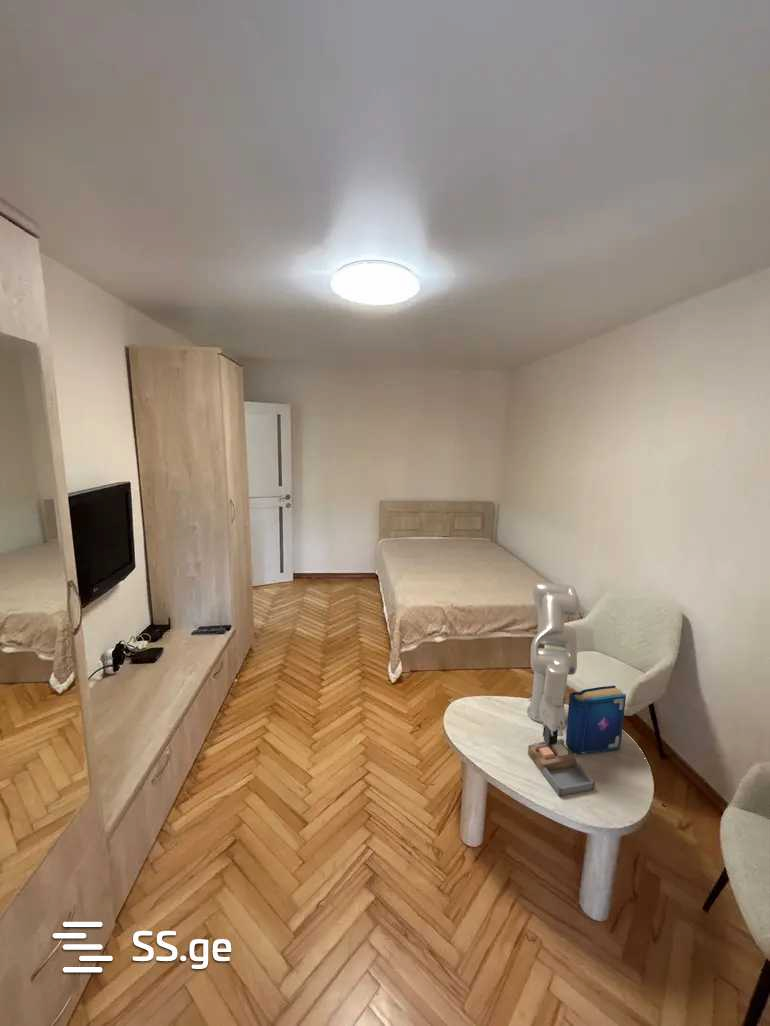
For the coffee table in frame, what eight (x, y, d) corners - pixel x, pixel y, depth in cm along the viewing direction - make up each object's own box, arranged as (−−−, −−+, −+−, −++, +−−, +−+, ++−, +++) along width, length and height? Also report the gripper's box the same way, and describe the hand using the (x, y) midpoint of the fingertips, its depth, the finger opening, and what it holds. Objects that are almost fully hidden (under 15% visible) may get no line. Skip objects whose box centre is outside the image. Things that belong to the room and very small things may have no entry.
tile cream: (552, 748, 163) (552, 745, 162) (561, 747, 164) (561, 743, 163) (558, 756, 159) (558, 752, 159) (567, 754, 160) (568, 751, 159)
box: (542, 774, 155) (543, 767, 155) (575, 768, 158) (576, 761, 158) (559, 796, 146) (559, 789, 145) (594, 789, 149) (595, 782, 148)
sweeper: (532, 746, 163) (535, 723, 161) (560, 742, 166) (562, 719, 164) (537, 752, 160) (539, 728, 158) (565, 747, 163) (567, 724, 161)
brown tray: (527, 754, 165) (528, 745, 164) (559, 749, 168) (560, 740, 167) (542, 774, 155) (543, 764, 155) (575, 768, 158) (576, 759, 158)
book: (572, 758, 163) (579, 700, 159) (561, 745, 170) (567, 689, 166) (620, 750, 168) (628, 694, 163) (608, 738, 174) (615, 683, 170)
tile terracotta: (538, 750, 161) (538, 747, 161) (547, 749, 162) (547, 746, 162) (544, 758, 158) (544, 755, 157) (553, 757, 158) (554, 753, 158)
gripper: (533, 685, 166) (529, 726, 169) (558, 712, 150) (553, 757, 154) (550, 683, 168) (546, 724, 171) (577, 709, 152) (571, 754, 155)
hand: (549, 739), depth 162 cm, fingers closed on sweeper, 3 cm apart
